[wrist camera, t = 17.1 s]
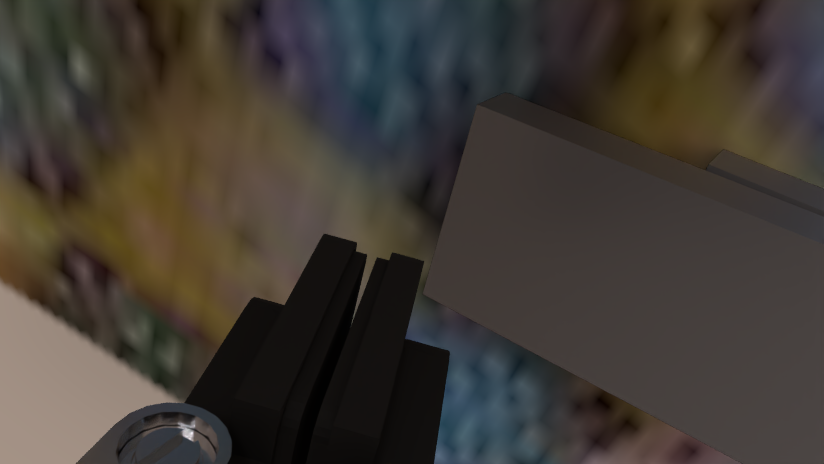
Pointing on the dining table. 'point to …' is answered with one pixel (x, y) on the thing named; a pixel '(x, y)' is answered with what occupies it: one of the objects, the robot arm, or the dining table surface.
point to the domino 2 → (768, 181)
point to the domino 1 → (641, 278)
